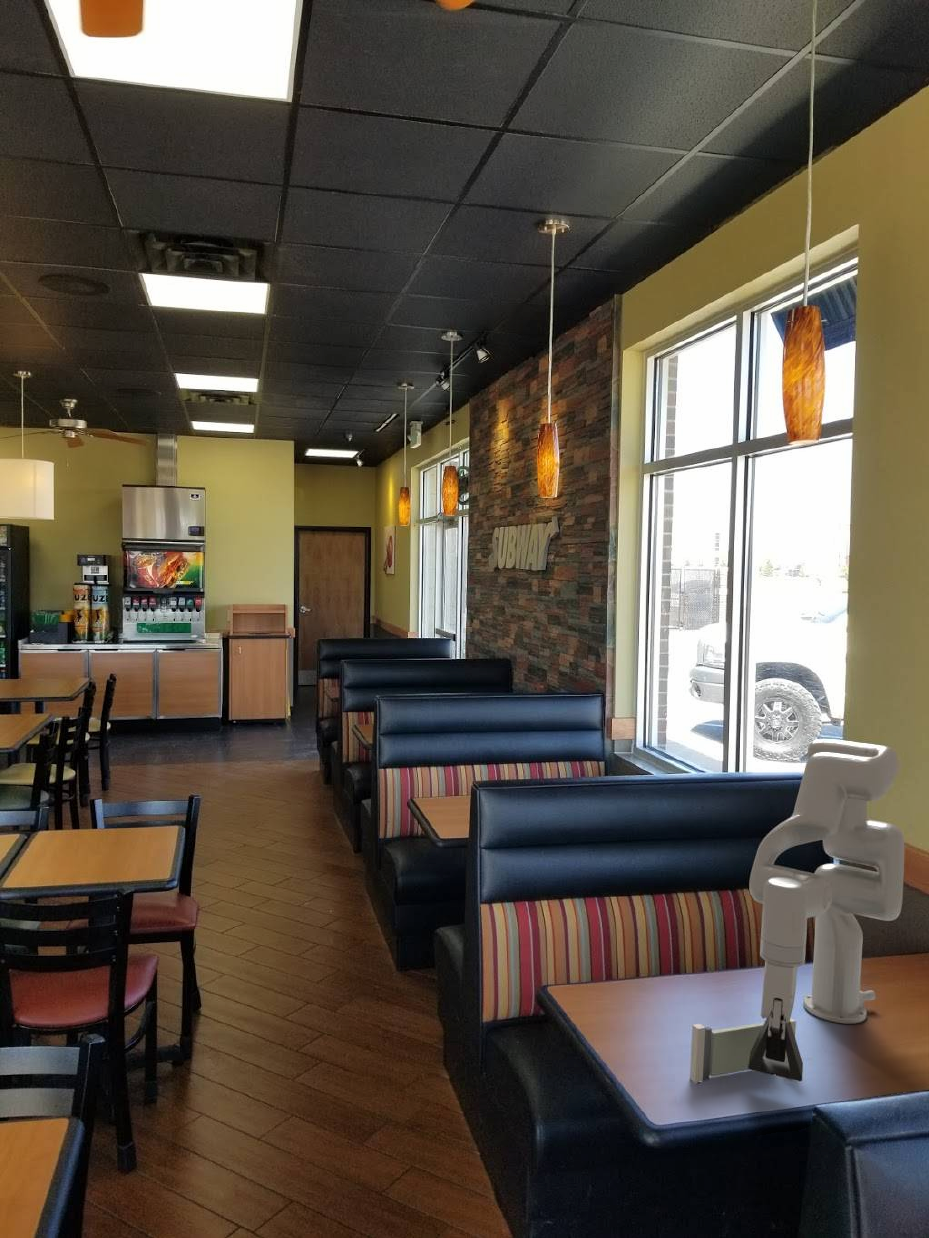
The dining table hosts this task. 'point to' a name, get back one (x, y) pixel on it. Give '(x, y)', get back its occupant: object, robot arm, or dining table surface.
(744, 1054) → the door
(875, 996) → the robot arm
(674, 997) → the dining table surface
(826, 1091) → the dining table surface
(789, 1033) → the phone stand
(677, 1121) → the dining table surface
